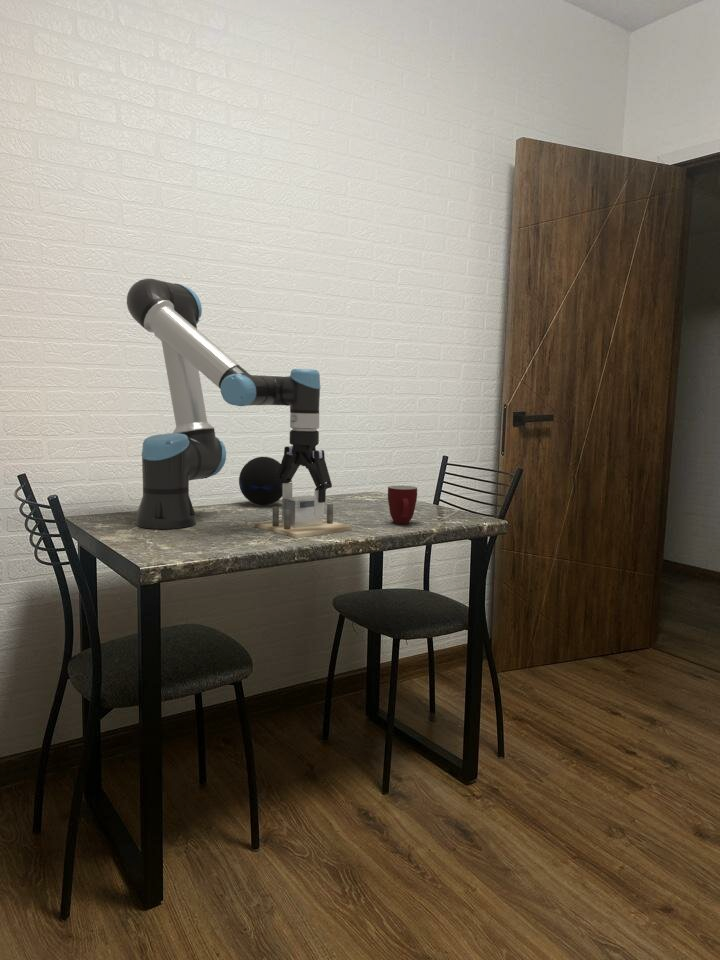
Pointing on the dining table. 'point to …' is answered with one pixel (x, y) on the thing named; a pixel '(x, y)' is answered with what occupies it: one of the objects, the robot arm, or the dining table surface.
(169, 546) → the dining table surface
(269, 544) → the dining table surface
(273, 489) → the decorative sphere
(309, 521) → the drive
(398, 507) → the mug
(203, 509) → the dining table surface
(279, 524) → the wooden peg board
